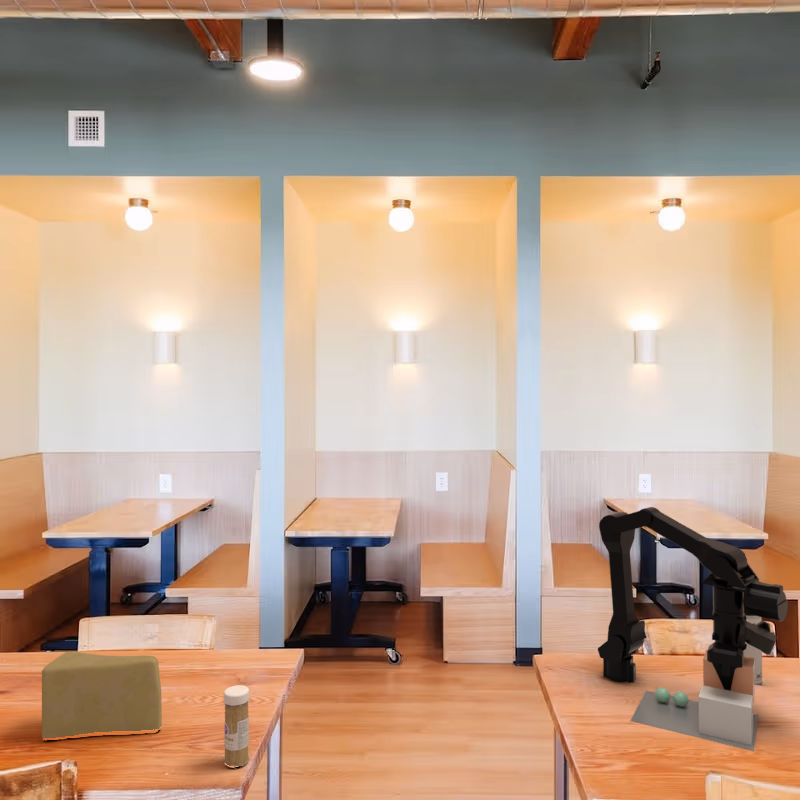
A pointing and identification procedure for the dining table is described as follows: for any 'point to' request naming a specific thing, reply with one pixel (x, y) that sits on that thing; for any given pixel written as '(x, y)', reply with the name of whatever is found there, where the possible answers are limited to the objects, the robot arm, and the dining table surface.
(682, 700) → the marble
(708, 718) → the light grey rectangular block
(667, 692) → the marble
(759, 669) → the travel mug
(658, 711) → the slate board
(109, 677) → the cheese
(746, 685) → the tan block
